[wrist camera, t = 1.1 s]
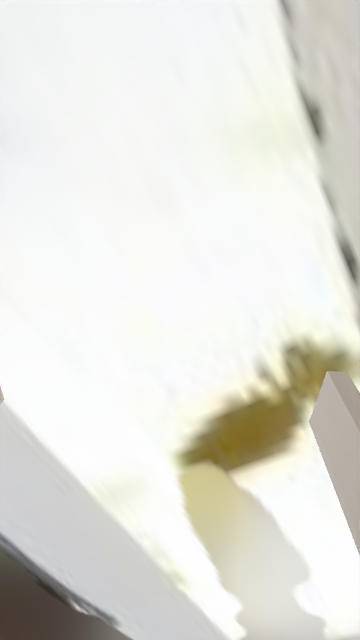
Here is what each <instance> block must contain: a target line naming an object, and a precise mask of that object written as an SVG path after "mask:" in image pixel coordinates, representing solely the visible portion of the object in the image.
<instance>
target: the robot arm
mask: <svg viewBox="0 0 360 640" xmlns="http://www.w3.org/2000/svg"><path fill="white" fill-rule="evenodd" d="M3 400H4V398H3V394H2V391H1V387H0V404H1V403H2V402H3ZM309 423H310V425H311V428H312V430H313V433H314V436H315V438H316V441H317V444H318V446H319V449H320V452H321V454H322V457H323V459H324V462H325V465H326V467H327V470H328V473H329V475H330V478H331V481H332V483H333V486H334V489H335V491H336V494H337V496H338V499H339V502H340V504H341V507H342V510H343V512H344V515H345V518H346V520H347V523H348V525H349V528H350V531H351V533H352V536H353V539H354V541H355V544H356V547H357V549H358V552H359V554H360V393H359V391H358V390H357V388H356V386H355V385H354V383H353V381H352V380H351V378H350V376H349V375H348V373H347V372H334V371H327V373H326V376H325V378H324V381H323V384H322V387H321V390H320V393H319V396H318V398H317V401H316V404H315V407H314V410H313V413H312V415H311V418H310V421H309Z"/></svg>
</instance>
